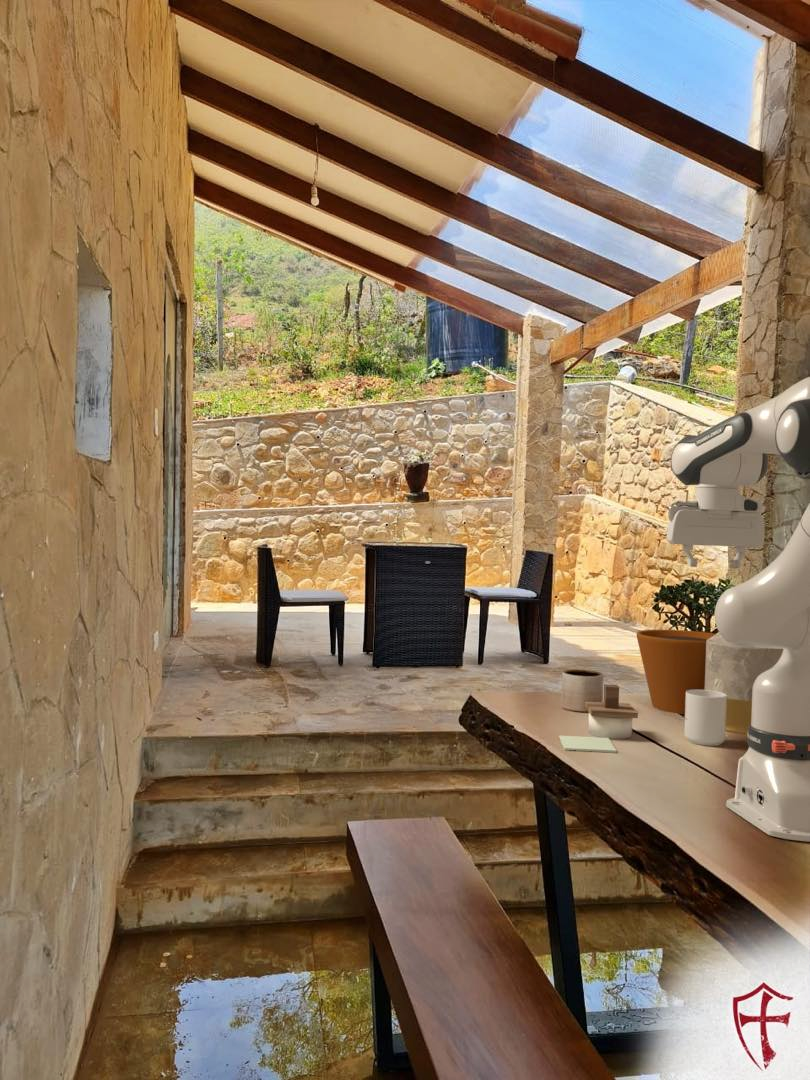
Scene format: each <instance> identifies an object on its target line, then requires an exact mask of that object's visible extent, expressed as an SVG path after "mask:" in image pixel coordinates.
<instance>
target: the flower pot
mask: <svg viewBox="0 0 810 1080" xmlns="http://www.w3.org/2000/svg"><path fill="white" fill-rule="evenodd" d="M716 634H717V633H711V632H704V631H694V630H684V629H683V630H682V629H643V630H639V631H637V632H636V640H637V645H638V647H639V652H640V657H641V661H642V665H643V671H644V675H645V679H646V682H647V688H648V692H649V696H650V701H651V705H653V706H652V707H653V708H654V707H655V708H654V709H656V708H657V709H656V710H658V709H659V711H661V712H666V713H672V714H678V715H685V699H686V691H688V690H705V665H706V641H707V639H709V638H711V637H713V636H714V635H716Z"/></svg>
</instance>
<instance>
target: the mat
mask: <svg viewBox="0 0 810 1080" xmlns="http://www.w3.org/2000/svg"><path fill="white" fill-rule="evenodd" d="M558 738H560V739H559V741H560V740H561V741H560V744H561V746H562V745H563V746H562V748H563V747H564V748H563V749H565V750H564V751H569V750H572V751H573V750H576V751H575V752H589V751H593V753H609V754H610V753H611V754H613V753H616V754H617V749H616V748H615V746H614V745H613V742H611V739H610V738H602V737H597V736H577V735H574V736H573V735H558ZM573 752H574V751H573Z"/></svg>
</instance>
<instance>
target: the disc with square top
mask: <svg viewBox="0 0 810 1080" xmlns="http://www.w3.org/2000/svg"><path fill="white" fill-rule="evenodd" d="M633 719H634V718H622V717H600V716H591V715H590V713H588V725H587V726H588V727H587V731H588V732H587V733H588V734H590V735H592V736H593V737H600V738H608V739H609V740H611V739H612V740H616V739H617V740H623V739H628V738H629V739H630V738H631V737H632V736H633Z"/></svg>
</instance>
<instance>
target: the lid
mask: <svg viewBox="0 0 810 1080" xmlns="http://www.w3.org/2000/svg"><path fill="white" fill-rule="evenodd" d="M619 700H620V686H618V684H606V683H605V684H604V683H603V702H585V707H586V709H587V710H588V712H589V713H590V715H591V716H600V717H622V718H633V719H638V717H639V716H638V715H639V713H638V711H637V710H636V709H635V708H634V707H633V706H632V705H631V704H630V703H626V702H625V703H622V702H620V701H619ZM589 713H588V714H589Z"/></svg>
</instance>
